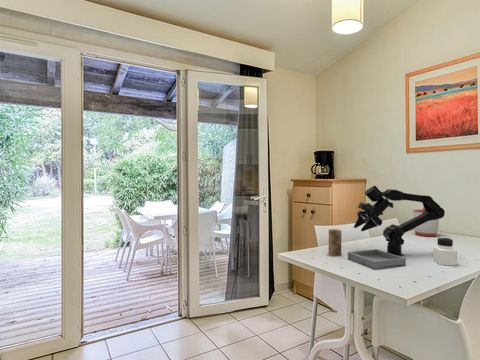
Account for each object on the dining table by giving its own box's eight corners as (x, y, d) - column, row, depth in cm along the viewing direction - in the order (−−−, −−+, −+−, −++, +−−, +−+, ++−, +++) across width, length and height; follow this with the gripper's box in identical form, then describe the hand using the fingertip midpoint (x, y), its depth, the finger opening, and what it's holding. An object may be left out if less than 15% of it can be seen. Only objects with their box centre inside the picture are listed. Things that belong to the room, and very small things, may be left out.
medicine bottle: (456, 265, 142) (457, 240, 141) (439, 265, 143) (440, 239, 143) (449, 261, 149) (449, 237, 148) (433, 260, 150) (433, 236, 150)
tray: (376, 255, 159) (376, 249, 159) (405, 265, 142) (405, 258, 142) (347, 259, 153) (347, 252, 153) (374, 269, 136) (374, 261, 136)
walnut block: (337, 253, 164) (338, 229, 163) (341, 255, 159) (341, 230, 158) (328, 253, 163) (328, 229, 163) (331, 256, 158) (331, 230, 158)
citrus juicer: (446, 237, 204) (447, 207, 204) (420, 237, 205) (421, 207, 204) (432, 233, 220) (432, 205, 219) (408, 233, 220) (408, 205, 220)
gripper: (360, 195, 170) (340, 215, 170) (376, 198, 151) (354, 221, 151) (374, 209, 170) (354, 229, 170) (391, 214, 152) (369, 236, 152)
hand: (357, 229), depth 161 cm, fingers open, 9 cm apart
